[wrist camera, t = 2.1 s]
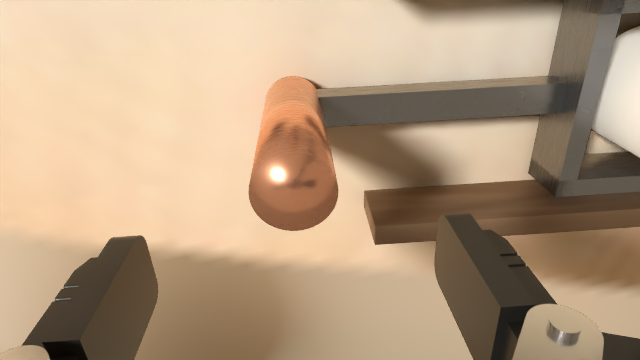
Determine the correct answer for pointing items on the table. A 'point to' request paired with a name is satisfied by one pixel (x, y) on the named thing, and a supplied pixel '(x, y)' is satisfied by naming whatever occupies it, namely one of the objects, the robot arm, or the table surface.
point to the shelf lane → (494, 210)
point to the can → (621, 94)
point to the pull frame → (447, 104)
